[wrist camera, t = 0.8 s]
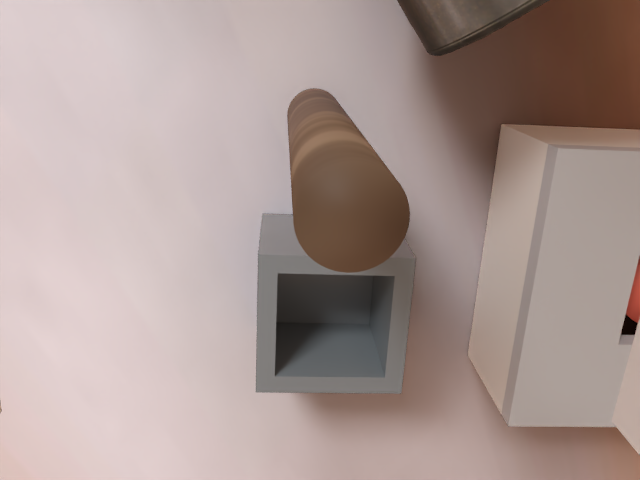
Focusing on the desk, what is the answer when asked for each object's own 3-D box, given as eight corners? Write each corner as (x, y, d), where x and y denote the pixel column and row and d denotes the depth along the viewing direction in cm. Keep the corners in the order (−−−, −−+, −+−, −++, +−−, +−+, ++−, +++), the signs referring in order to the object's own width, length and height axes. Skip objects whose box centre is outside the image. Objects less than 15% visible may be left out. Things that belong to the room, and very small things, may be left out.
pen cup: (262, 213, 33) (258, 254, 27) (392, 217, 33) (416, 258, 28) (260, 331, 35) (255, 392, 29) (381, 333, 36) (401, 393, 30)
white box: (501, 123, 32) (558, 148, 25) (749, 134, 33) (865, 160, 26) (467, 355, 37) (507, 426, 30) (686, 357, 38) (772, 427, 31)
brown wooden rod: (288, 87, 31) (295, 158, 14) (342, 89, 31) (415, 162, 14) (286, 141, 32) (291, 271, 15) (339, 143, 32) (403, 274, 15)
